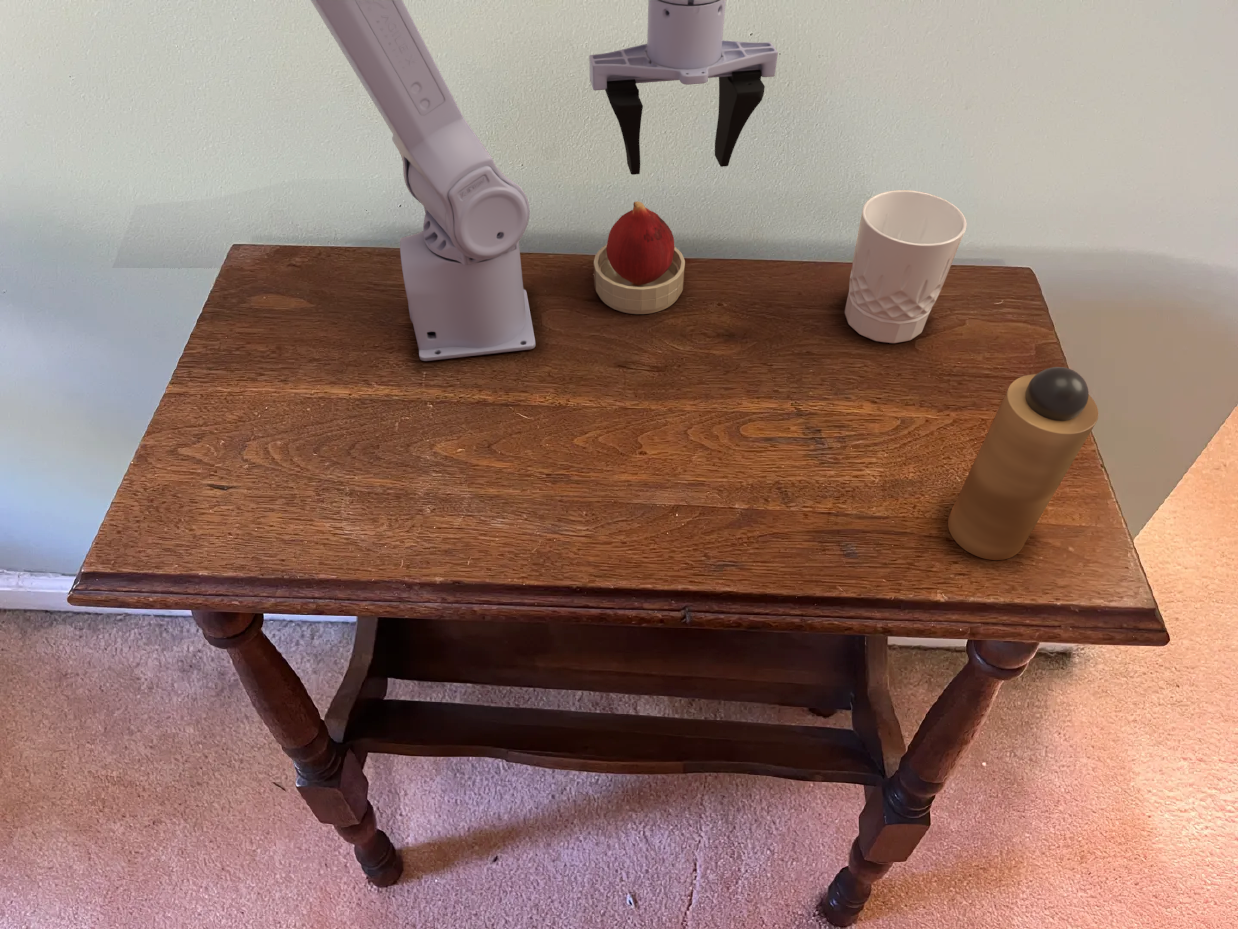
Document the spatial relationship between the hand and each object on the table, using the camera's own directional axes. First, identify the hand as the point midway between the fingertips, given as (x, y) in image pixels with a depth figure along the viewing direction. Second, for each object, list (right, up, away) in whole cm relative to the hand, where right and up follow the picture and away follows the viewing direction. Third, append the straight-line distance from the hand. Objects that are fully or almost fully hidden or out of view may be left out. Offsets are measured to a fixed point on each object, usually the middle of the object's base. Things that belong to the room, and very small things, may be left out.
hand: (677, 164), depth 72 cm
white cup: (+18, -13, +1) cm, 22 cm away
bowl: (-3, -10, +4) cm, 11 cm away
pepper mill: (+20, -30, -14) cm, 39 cm away
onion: (-3, -9, +4) cm, 11 cm away
